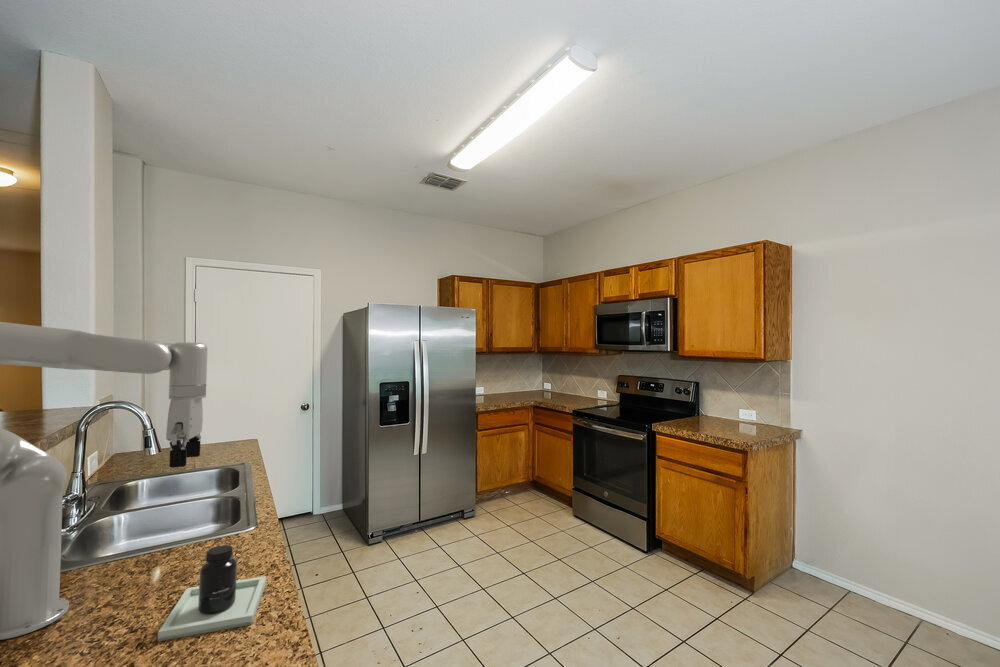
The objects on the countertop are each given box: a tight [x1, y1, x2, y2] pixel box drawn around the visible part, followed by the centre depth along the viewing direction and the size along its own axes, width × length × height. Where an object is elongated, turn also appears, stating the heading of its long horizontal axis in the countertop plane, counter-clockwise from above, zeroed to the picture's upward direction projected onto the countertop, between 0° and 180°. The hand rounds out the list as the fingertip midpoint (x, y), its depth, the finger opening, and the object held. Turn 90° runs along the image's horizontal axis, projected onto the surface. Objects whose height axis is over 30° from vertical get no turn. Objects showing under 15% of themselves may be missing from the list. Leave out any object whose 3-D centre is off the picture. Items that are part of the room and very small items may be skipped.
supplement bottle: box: [198, 544, 238, 614], centre depth 94 cm, size 7×7×12 cm
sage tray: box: [157, 575, 267, 642], centre depth 93 cm, size 16×16×2 cm
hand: (185, 461), depth 107 cm, fingers open, 9 cm apart
